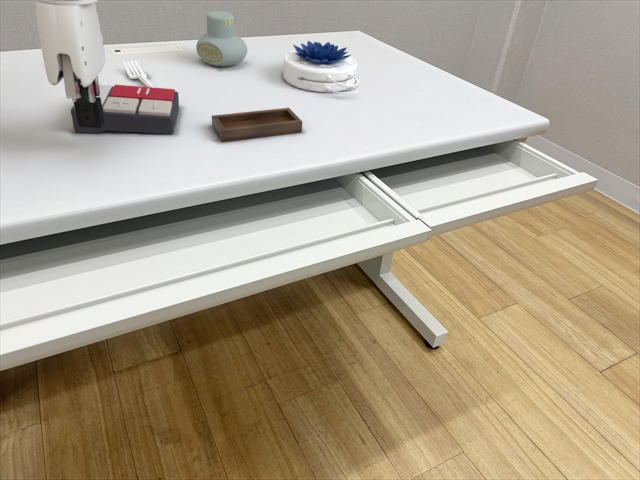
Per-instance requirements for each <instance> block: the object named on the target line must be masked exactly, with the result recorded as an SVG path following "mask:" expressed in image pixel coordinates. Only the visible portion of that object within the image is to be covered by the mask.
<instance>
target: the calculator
mask: <svg viewBox="0 0 640 480" xmlns="http://www.w3.org/2000/svg"><path fill="white" fill-rule="evenodd" d="M99 88H100V96H96V97H101V103H102V108H103V114H104V119H105V123H104V124H103V126H102V127H101V128H88V127H80V126H79V125H78V121H77V116H76V111H75V107H74V105H73V106H72V107H71V109H70V114H71V115H70V116H71V119H72V125H73V129H74V130H73V131H74V132H75V133H87V134H101V133H103V132H105V131H110V132H124V133H125V132H126V133H142V134H157V135H160V134H161V135H173V134H175V128H176V124H177V119H178V115H179V110H180V98H179V97H180V95H179V92H178V91H176V89H175V88H162V87H155V88H152V87H147V86H138V85H127V84H114V85H113V86H112V85H111V84H100V83H99Z"/></svg>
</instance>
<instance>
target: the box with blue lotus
mask: <svg viewBox="0 0 640 480" xmlns="http://www.w3.org/2000/svg"><path fill="white" fill-rule="evenodd" d="M306 43H307V44H304V43H300V46H301V47H300V46H298V45H295V44H292V46H293V48H294V49H292V50H289V51H288V52H286V53H285V54H284V56H283V70H282V71H283V72H282V77H283V79H284V80H285V82H287V84H289V85H291V86H292V87H295V88H298V89H301V90H305V91H310V92H316V93H334V94H337V95H352V94H353V95H354V94H356V93H358V92H359V89H358V88H357V86H359V84H360V80H359V79H358V77H357V71H358V70H357V69H358V62H357V60H356V59H355V58H354V57H353V56H352V54H348V53H349V51H346V50H347V49H348V47H343V48H339V45H335V44H334V43H332V44H331V43H330V42H329V41H327V42H325V44H322V43H321V42H317V41H313V42H312V41H310V40H307V41H306ZM349 89H353V90H354V91H347V92H346V90H349ZM344 91H345V92H344Z"/></svg>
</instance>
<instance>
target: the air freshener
mask: <svg viewBox="0 0 640 480" xmlns="http://www.w3.org/2000/svg"><path fill="white" fill-rule="evenodd" d="M206 31H207V32H206V33H205V34H203V35H202V36H200V37H199V39H198V40H197V42H196V46H195V48H196V53H197V55H198V56H199V57H200V58H201V60H203V61H204V62H206V63H208V64H210V65H211V66H212V67H216V68H217V67H218V68H222V67H233V66H235V65H237V64H239V63H241V62H243V60H244V59H245V58H246V57H247V54H248V46H247V44H246V42H245V40H244V39H243V38H242V37H240V36H239V35H237V34H236V16H235V15H234V13H232V12H229V11H224V10H223V11H222V10H214V11H209V12H207V14H206Z"/></svg>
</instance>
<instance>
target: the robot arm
mask: <svg viewBox="0 0 640 480" xmlns="http://www.w3.org/2000/svg"><path fill="white" fill-rule="evenodd" d="M99 1H100V0H35V14H36V24H37V32H38V37H39V44H40V49H41V53H42V59H43V63H44V68H45V69H44V70H45V74H46V78H47V81H48V83H49V84H50V85H51V86H57V85H58V84H59V83H61V81H62V80H63V82H64V83H63V84H64V92H65V97H66V99H70V100H71V101H72V103H73V106H74V107H75V111H76V116H77V121H78V125H79V126H80V127H88V128H101V127H102V126H103V124H104V123H105V119H104V114H103V108H102V103H101V97H96V96H100V88H99V84H100V81H99V74H100V73H101V72H102V70H103V69H104V67H105V65H106V52H105V45H104V40H103V35H102V29H101V25H100V20H99V19H100V18H99V14H98V10H97V7H96V3H97V2H99Z"/></svg>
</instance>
